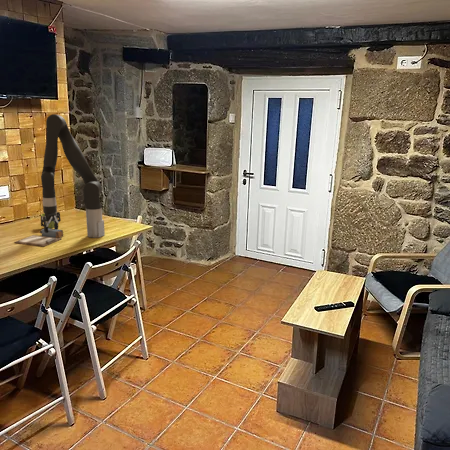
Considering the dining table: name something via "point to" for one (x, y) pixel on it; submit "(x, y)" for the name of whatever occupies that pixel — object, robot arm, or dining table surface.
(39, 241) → the clipboard
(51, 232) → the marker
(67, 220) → the dining table surface
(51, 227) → the plant pot
